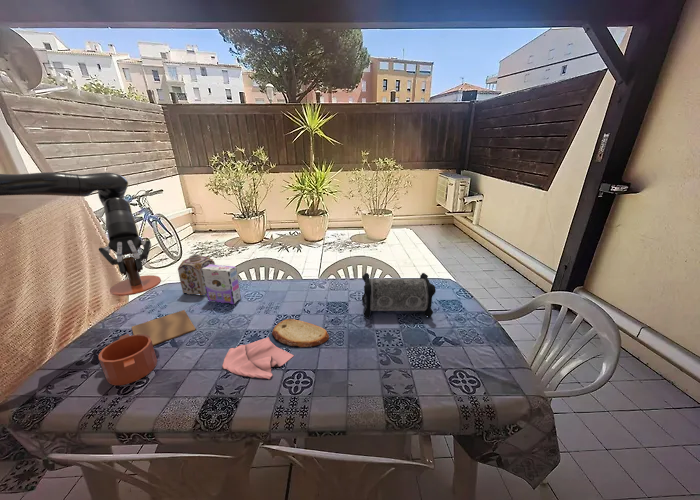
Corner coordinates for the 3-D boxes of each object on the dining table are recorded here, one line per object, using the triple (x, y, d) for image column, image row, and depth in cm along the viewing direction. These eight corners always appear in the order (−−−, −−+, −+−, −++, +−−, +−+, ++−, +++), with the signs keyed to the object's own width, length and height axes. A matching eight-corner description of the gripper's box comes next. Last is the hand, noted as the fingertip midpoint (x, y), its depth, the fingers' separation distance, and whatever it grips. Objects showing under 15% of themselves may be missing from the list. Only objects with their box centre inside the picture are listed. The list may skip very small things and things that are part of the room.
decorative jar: (204, 296, 128) (197, 261, 122) (182, 294, 129) (174, 259, 123) (219, 285, 139) (214, 252, 133) (199, 283, 140) (192, 250, 134)
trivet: (137, 351, 92) (137, 350, 92) (131, 327, 104) (131, 326, 104) (196, 330, 103) (195, 328, 103) (184, 310, 116) (184, 309, 116)
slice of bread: (332, 340, 98) (332, 331, 97) (283, 358, 89) (283, 348, 88) (312, 316, 112) (312, 308, 111) (269, 329, 104) (268, 321, 103)
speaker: (361, 301, 124) (362, 271, 119) (423, 301, 124) (426, 271, 119) (363, 320, 110) (364, 287, 105) (433, 319, 110) (437, 286, 105)
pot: (108, 398, 74) (99, 374, 71) (106, 363, 87) (97, 341, 84) (162, 375, 82) (155, 352, 79) (152, 346, 94) (146, 325, 92)
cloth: (222, 349, 93) (221, 343, 92) (285, 333, 102) (285, 327, 101) (222, 394, 76) (221, 387, 75) (299, 370, 84) (299, 364, 83)
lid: (112, 302, 80) (101, 271, 76) (109, 286, 89) (99, 257, 86) (165, 288, 88) (157, 259, 85) (157, 274, 98) (150, 248, 94)
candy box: (241, 298, 126) (237, 266, 120) (233, 305, 120) (228, 271, 115) (216, 295, 129) (210, 263, 123) (207, 301, 123) (200, 268, 118)
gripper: (149, 229, 97) (160, 271, 92) (97, 236, 89) (106, 283, 84) (146, 217, 91) (157, 262, 86) (90, 224, 83) (99, 273, 78)
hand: (132, 272), depth 85 cm, fingers closed on lid, 3 cm apart
